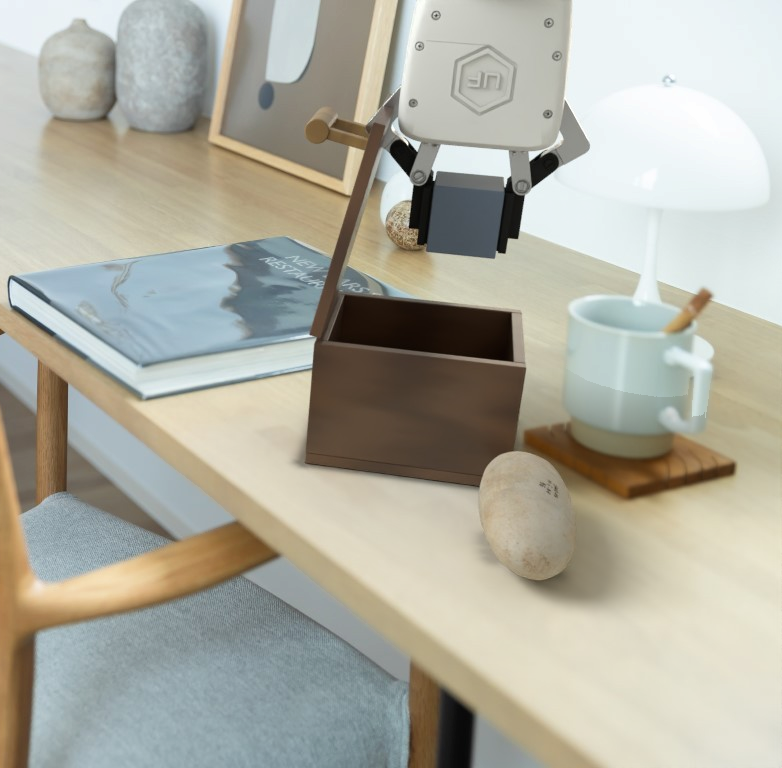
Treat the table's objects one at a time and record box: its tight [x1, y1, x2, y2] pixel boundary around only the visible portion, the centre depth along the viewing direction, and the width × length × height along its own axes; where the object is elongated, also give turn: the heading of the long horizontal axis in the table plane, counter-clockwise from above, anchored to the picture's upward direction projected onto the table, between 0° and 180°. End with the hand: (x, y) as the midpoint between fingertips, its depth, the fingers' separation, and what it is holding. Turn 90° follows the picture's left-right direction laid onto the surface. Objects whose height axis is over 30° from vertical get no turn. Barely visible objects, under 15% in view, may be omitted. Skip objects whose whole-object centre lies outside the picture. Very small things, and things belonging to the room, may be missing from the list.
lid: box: [304, 93, 393, 338], centre depth 79 cm, size 14×12×5 cm
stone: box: [478, 450, 577, 581], centre depth 70 cm, size 6×6×12 cm
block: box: [425, 170, 505, 260], centre depth 78 cm, size 4×4×4 cm
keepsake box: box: [304, 290, 527, 487], centre depth 82 cm, size 14×12×9 cm
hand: (461, 241), depth 79 cm, fingers closed on block, 4 cm apart
